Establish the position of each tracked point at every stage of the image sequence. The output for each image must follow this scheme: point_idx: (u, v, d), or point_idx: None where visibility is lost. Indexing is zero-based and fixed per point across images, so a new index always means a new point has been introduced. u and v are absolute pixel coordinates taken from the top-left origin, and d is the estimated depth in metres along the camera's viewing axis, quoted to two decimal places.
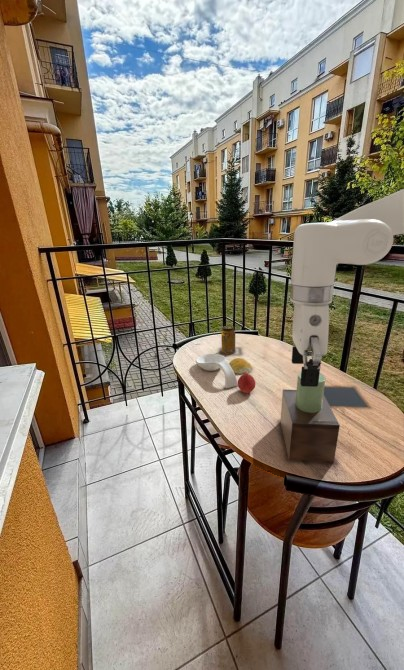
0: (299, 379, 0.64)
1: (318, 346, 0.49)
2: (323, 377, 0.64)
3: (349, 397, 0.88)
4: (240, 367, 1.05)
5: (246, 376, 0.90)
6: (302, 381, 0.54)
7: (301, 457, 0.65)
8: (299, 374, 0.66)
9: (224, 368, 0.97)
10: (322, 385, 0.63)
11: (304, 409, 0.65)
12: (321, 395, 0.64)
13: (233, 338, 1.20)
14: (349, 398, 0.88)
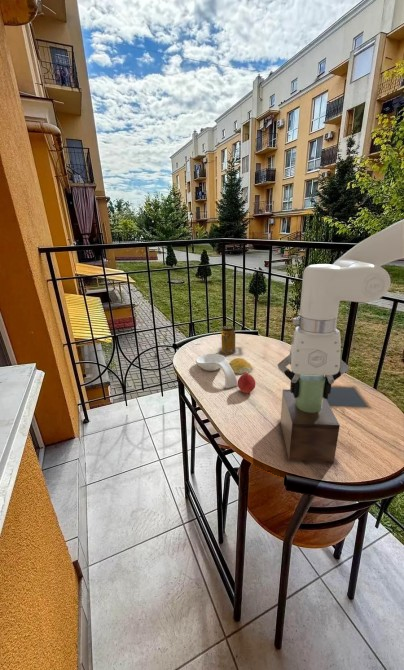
0: (299, 379, 0.64)
1: (284, 361, 0.64)
2: (323, 377, 0.64)
3: (349, 397, 0.88)
4: (240, 367, 1.05)
5: (246, 376, 0.90)
6: None
7: (301, 457, 0.65)
8: None
9: (224, 368, 0.97)
10: (322, 385, 0.63)
11: (304, 409, 0.65)
12: (321, 395, 0.64)
13: (233, 338, 1.20)
14: (349, 398, 0.88)
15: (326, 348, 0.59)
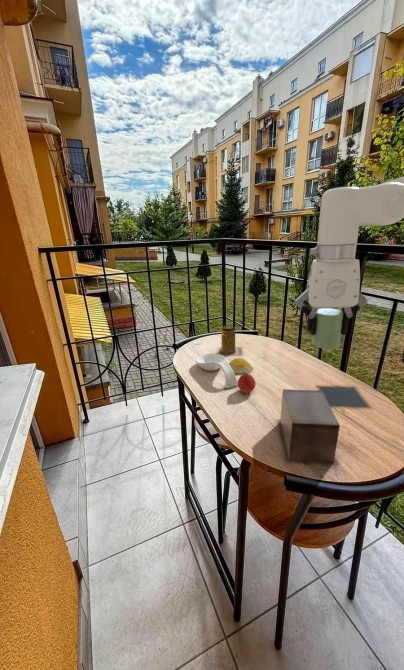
0: (316, 315, 0.63)
1: (301, 296, 0.63)
2: (341, 312, 0.63)
3: (349, 397, 0.88)
4: (240, 367, 1.05)
5: (246, 376, 0.90)
6: None
7: (301, 457, 0.65)
8: None
9: (224, 368, 0.97)
10: (340, 319, 0.62)
11: (322, 346, 0.64)
12: (339, 330, 0.63)
13: (233, 338, 1.20)
14: (349, 398, 0.88)
15: (345, 277, 0.58)
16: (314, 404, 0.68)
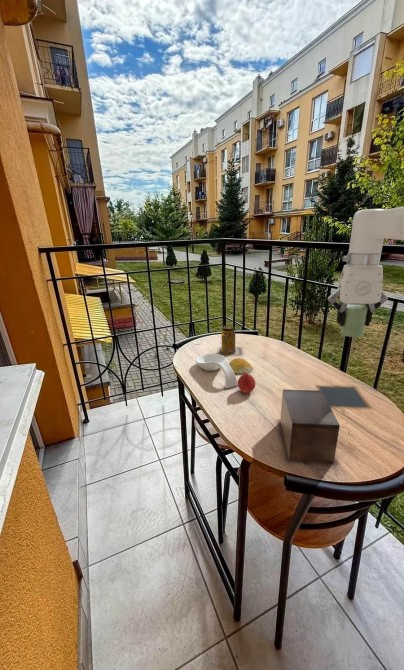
0: (345, 309, 0.78)
1: (333, 294, 0.78)
2: (366, 307, 0.78)
3: (349, 397, 0.88)
4: (240, 367, 1.05)
5: (246, 376, 0.90)
6: None
7: (301, 457, 0.65)
8: None
9: (224, 368, 0.97)
10: (365, 312, 0.77)
11: (349, 334, 0.79)
12: (364, 322, 0.78)
13: (233, 338, 1.20)
14: (349, 398, 0.88)
15: (371, 279, 0.73)
16: (314, 404, 0.68)
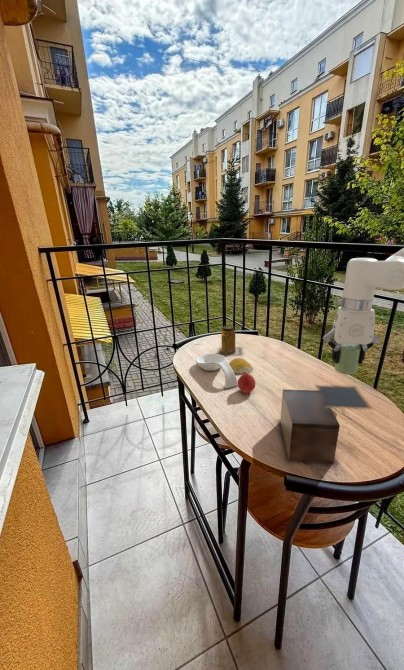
0: (340, 348, 0.82)
1: (328, 334, 0.82)
2: (359, 346, 0.82)
3: (349, 397, 0.88)
4: (240, 367, 1.05)
5: (246, 376, 0.90)
6: None
7: (301, 457, 0.65)
8: None
9: (224, 368, 0.97)
10: (358, 352, 0.81)
11: (343, 372, 0.83)
12: (357, 360, 0.82)
13: (233, 338, 1.20)
14: (349, 398, 0.88)
15: (364, 322, 0.77)
16: (314, 404, 0.68)
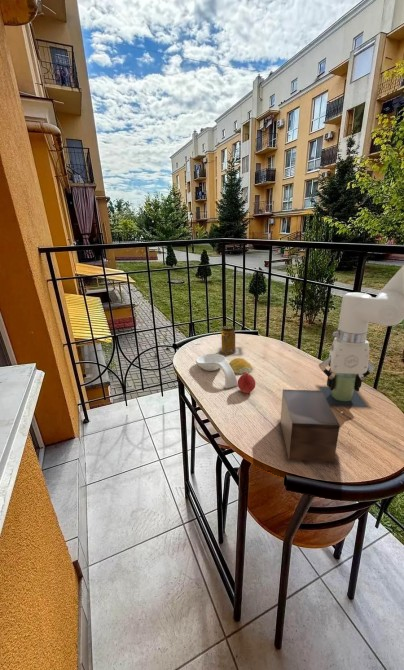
0: (336, 376, 0.86)
1: (324, 362, 0.85)
2: (354, 374, 0.85)
3: None
4: (240, 367, 1.05)
5: (246, 376, 0.90)
6: None
7: (301, 457, 0.65)
8: None
9: (224, 368, 0.97)
10: (354, 380, 0.84)
11: (339, 398, 0.86)
12: (352, 388, 0.85)
13: (233, 338, 1.20)
14: None
15: (358, 354, 0.80)
16: (314, 404, 0.68)
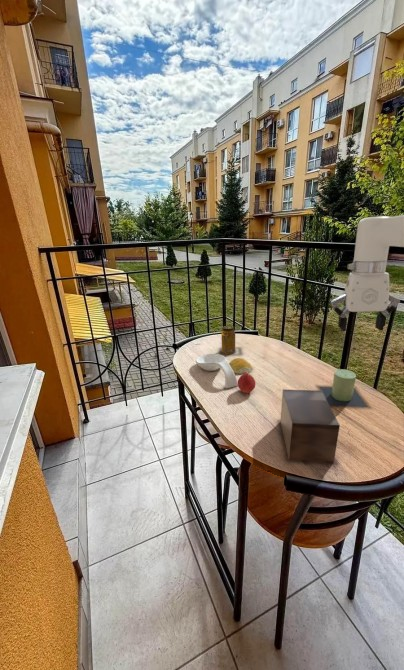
0: (336, 376, 0.86)
1: (338, 298, 0.77)
2: (354, 374, 0.85)
3: None
4: (240, 367, 1.05)
5: (246, 376, 0.90)
6: None
7: (301, 457, 0.65)
8: (335, 372, 0.87)
9: (224, 368, 0.97)
10: (354, 380, 0.84)
11: (339, 398, 0.86)
12: (352, 388, 0.85)
13: (233, 338, 1.20)
14: None
15: (377, 287, 0.72)
16: (314, 404, 0.68)
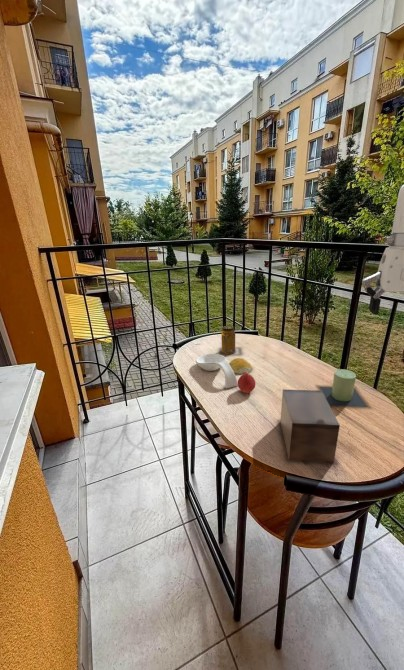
0: (336, 376, 0.86)
1: (371, 276, 0.68)
2: (354, 374, 0.85)
3: None
4: (240, 367, 1.05)
5: (246, 376, 0.90)
6: None
7: (301, 457, 0.65)
8: (335, 372, 0.87)
9: (224, 368, 0.97)
10: (354, 380, 0.84)
11: (339, 398, 0.86)
12: (352, 388, 0.85)
13: (233, 338, 1.20)
14: None
15: None
16: (314, 404, 0.68)
